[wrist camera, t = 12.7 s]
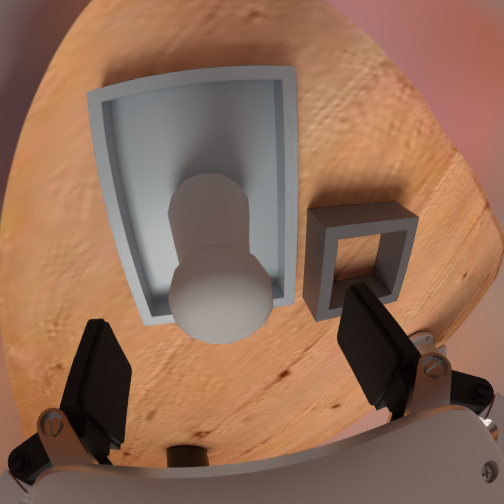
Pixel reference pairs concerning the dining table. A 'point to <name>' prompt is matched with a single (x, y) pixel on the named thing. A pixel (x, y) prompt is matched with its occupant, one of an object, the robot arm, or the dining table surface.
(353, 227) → the holder
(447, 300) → the dining table surface
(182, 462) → the ink bottle
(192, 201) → the salt shaker
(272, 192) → the tray
